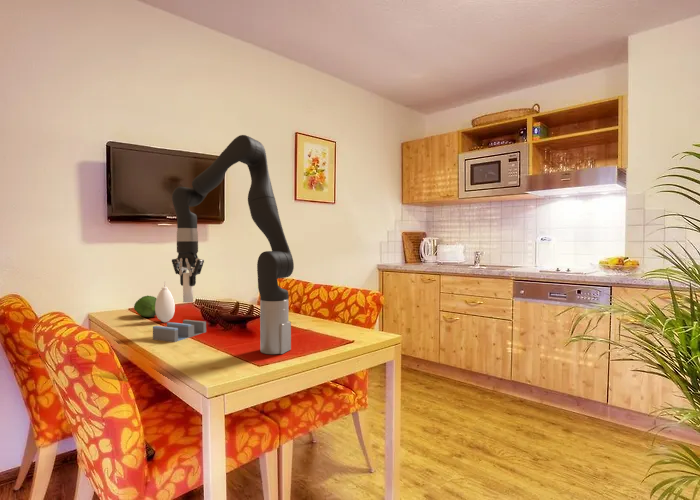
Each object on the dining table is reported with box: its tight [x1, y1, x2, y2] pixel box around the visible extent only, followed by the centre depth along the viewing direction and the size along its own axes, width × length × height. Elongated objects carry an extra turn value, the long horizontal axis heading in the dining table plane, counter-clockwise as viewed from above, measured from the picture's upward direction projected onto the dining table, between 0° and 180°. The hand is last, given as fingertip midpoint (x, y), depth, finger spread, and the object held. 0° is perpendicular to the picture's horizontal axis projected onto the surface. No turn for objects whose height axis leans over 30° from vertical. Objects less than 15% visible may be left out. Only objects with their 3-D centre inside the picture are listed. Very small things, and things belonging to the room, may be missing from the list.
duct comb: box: [152, 319, 207, 343], centre depth 148 cm, size 10×16×6 cm, turn 160°
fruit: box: [133, 295, 157, 318], centre depth 187 cm, size 15×10×10 cm, turn 54°
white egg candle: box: [155, 281, 176, 323], centre depth 176 cm, size 8×8×18 cm
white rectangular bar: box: [182, 272, 194, 303], centre depth 152 cm, size 4×4×11 cm
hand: (187, 285), depth 152 cm, fingers closed on white rectangular bar, 3 cm apart
